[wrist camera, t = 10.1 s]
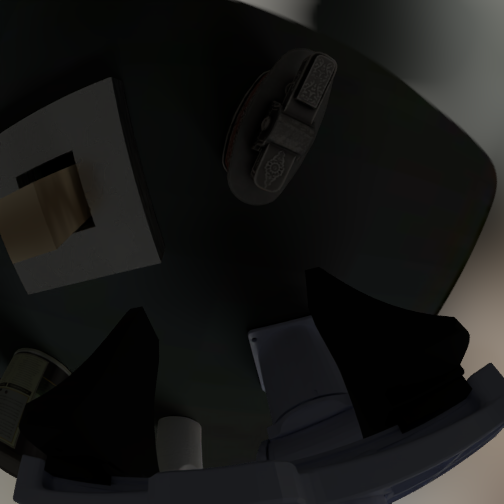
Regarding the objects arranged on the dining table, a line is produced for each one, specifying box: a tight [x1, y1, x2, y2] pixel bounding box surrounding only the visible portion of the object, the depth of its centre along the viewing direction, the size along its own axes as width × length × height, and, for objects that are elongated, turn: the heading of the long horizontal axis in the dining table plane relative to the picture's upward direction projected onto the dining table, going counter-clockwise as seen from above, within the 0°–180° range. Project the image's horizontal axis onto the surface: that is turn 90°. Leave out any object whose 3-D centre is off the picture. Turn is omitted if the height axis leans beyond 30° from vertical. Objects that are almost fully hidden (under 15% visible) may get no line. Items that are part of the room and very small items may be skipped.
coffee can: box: [0, 348, 72, 478], centre depth 20 cm, size 10×10×14 cm
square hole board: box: [0, 77, 166, 294], centre depth 17 cm, size 13×13×2 cm
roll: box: [156, 416, 203, 472], centre depth 27 cm, size 6×12×6 cm
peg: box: [0, 164, 92, 264], centre depth 16 cm, size 4×4×7 cm
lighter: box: [222, 48, 337, 205], centre depth 14 cm, size 8×3×10 cm, turn 156°
